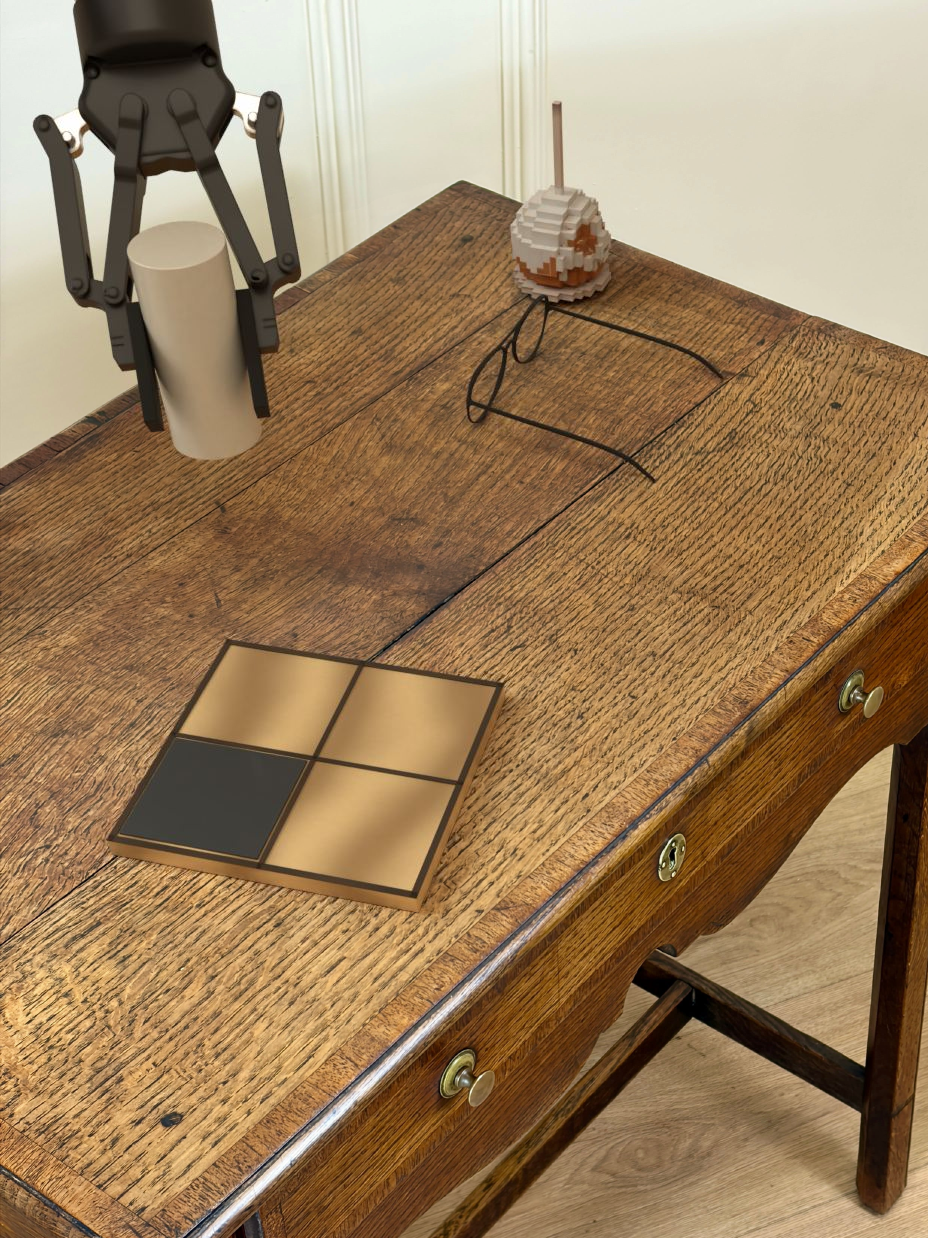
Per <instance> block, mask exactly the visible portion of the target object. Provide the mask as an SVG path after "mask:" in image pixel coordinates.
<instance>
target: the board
mask: <svg viewBox="0 0 928 1238" xmlns="http://www.w3.org/2000/svg"><path fill="white" fill-rule="evenodd" d="M505 686H506V685H505V682H502V681H501V682H500V681H495V680H489V679H482V678H476V677H471V676H463V675H459V674H458V675H457V674H450V673H445V672H438V671H432V670H425V669H419V668H414V667H407V666H401V665H395V664H387V663H382V662H381V663H380V662H376V661H369V660H363V659H358V658H357V659H356V658H351V657H344V656H337V655H331V654H324V653H319V652H313V651H306V650H299V649H294V648H287V647H282V646H275V645H269V644H262V643H256V642H249V641H244V640H243V641H242V640H236V639H230V638H226V640H225V641H224V643H223V644H222V647H220V650H219V651H218V653H217V654H216V656H215V658H214V660H213V661H212V663H211V665H210V666H209V667H208V669H207V671H206V673H205V674H204V676H203V678H202V680H201V681H200V683H199V684H198V686H197V688H196V689H195V691H194V692H193V695H192V696H191V698H190V700H189V701H188V703H187V705H186V706H185V708H184V710H183V711H182V713H181V714H180V716H179V718H178V719H177V722H175V724H174V726H173V728H172V730H171V731H170V732H169V734H168V736H167V737H166V739H165V741H164V743H163V744H162V746H161V748H160V749H159V751H158V753H157V754H156V756H155V758H154V759H153V761H152V763H151V764H150V766H149V767H148V769H147V771H146V773H144V775H143V777H142V779H141V781H140V783H139V784H138V785H137V788H136V789H135V791H134V793H133V794H132V796H131V797H130V799H129V801H128V803H127V804H126V805H125V807H124V809H123V811H122V812H121V814H120V816H119V818H118V819H117V821H116V823H115V824H114V825H113V828H112V829H111V831H110V832H109V834H108V835H107V837H106V839H105V840H106V842H107V845H108V848H109V851H110V853H111V855H113V856H118V857H124V858H127V859H128V858H129V859H134V860H139V861H144V862H149V863H156V864H160V865H164V866H165V865H166V866H170V867H176V868H181V869H187V870H192V871H197V872H203V873H207V874H213V875H218V876H223V877H229V878H235V879H239V880H244V881H250V882H256V883H259V884H266V885H271V886H277V887H281V888H287V889H292V890H298V891H303V892H308V893H313V894H319V895H324V896H327V897H328V896H329V897H334V898H340V899H345V900H350V901H355V902H360V903H364V904H365V903H366V904H369V905H370V904H371V905H375V906H382V907H388V908H390V909H391V908H392V909H397V910H403V911H408V912H414V913H419V912H420V910H421V907H422V905H423V903H424V900H425V898H426V895H427V893H428V890H429V888H430V886H431V883H432V880H433V878H434V875H435V873H436V871H437V868H438V866H439V863H440V860H441V858H442V856H443V854H444V851H445V848H446V846H447V843H448V841H449V838H450V836H451V833H452V831H453V829H454V826H455V823H456V821H457V819H458V816H459V814H460V812H461V809H462V806H463V805H464V801H465V799H466V796H467V794H468V792H469V789H470V786H471V785H472V782H473V779H474V778H475V774H476V772H477V769H478V768H479V765H480V762H481V759H482V757H483V755H484V753H485V750H486V747H487V746H488V742H489V740H490V737H491V735H492V733H493V730H494V727H495V725H496V723H497V721H498V718H499V715H500V713H501V711H502V708H503V705H504V703H505V700H506V689H505V688H506V687H505Z"/></svg>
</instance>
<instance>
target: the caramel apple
mask: <svg viewBox="0 0 928 1238" xmlns="http://www.w3.org/2000/svg"><path fill="white" fill-rule="evenodd" d="M562 107H563V104H562V101H561V100H553V102H552V103H551V111H552V112H551V114H552V116H551V118H552V142H553V143H552V144H553V145H552V147H553V148H552V149H553V150H552V151H553V177H554V178H553V180H554V181H553V182H554V184H551V185H550V186H549V187H548V188H547V189H544V190H543V189H538V190H537V191H536V192H535V194H532V195H531V196H530V198H529V199H528V200H526V201H524V203H523V204H522V205H521V207H519V208H518V210H517V212H516V213H515V216H516V217H515V218H514V220H513V221H512V222H511V224H510V227H509V228H510V245H511V247H510V248H511V252H512V253H511V254H512V259H514V260H516V265H514V267H513V268H512V276H513V284H515V285H517V289H521V293H523V294H529V295H531V299H533V300H535V299H536V298H537V297H538V296H540V295H543V294H544V295H547V296H548V299H549V302H551V303H552V302H553V303H559V301H560V300H563V301H567V302H574V300H575V299H579V300H582V299H584V297H587V298H588V297H589V298H591V297H592V296H593V294H594V293H595V292H596V291H597V292H603V290H604V289H605V288H606V286H607V285H608V283H609V282H610V280H611V279H612V272H611V271H610V263H606V261H607V259H608V258H609V256H610V252H609V251H610V249H611V247H612V233H610V232H609V230H608V229H606V221H604V220H603V217H602V212H601V211H600V210H599V201H598V200H597V198H596V197H591V196H587V195H586V192H584V190H583V188H575V187H570V186H565V180H564V179H565V178H564V176H565V175H564V174H565V173H564V143H563V142H564V140H563V138H564V137H563V108H562ZM541 301H545V299H542V300H541Z"/></svg>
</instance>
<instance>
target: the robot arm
mask: <svg viewBox="0 0 928 1238" xmlns="http://www.w3.org/2000/svg"><path fill="white" fill-rule="evenodd" d="M213 3H214V2H213V1H212V0H74V4H73V6H72V15H73V21H74V28H75V33H76V41H77V47H78V51H79V60H80V67H81V71H82V77H83V78H82V80H83V81H82V82H83V83H82V88H81V93H80V95H79V97H78V101H77V107H75V108H73V109H71V110H69V111H67V112H65V113H62V114H60V115H58V116H56V117H52V116H50V115H48V114H39V115H37V116H36V117H34V119H33V120H32V129H33V131H34V133H35V135H36V137H37V139H38V140H39V142H40V145H41V147H42V148H43V151H44V152H45V154H46V156H47V158H48V162H49V171H50V177H51V178H50V179H51V185H52V193H53V201H54V208H55V214H56V216H55V217H56V221H57V222H56V223H57V229H58V237H59V245H60V252H61V260H62V266H63V275H64V282H65V288H66V290H67V292H68V293H69V294H70V296H71V297H72V299H73V301H74V302H75V303H76V304H77V306H79V307H80V308H83V309H88V308H93V309H97V310H100V311H103V312H104V313H105V316H106V323H107V328H108V335H109V341H110V347H111V355H112V358H113V360H114V361H115V363H116V365H117V367H118V368H119V369H120V372H122V373H123V372H130V371H135V374H136V375H135V376H136V381H137V387H138V394H139V400H140V407H141V411H142V413H141V414H142V420H143V423H144V424H145V426H146V428H147V429H148V430H149V432H150V433H157V432H165V424H164V418H163V411H162V405H161V399H160V393H159V385H158V380H157V375H156V371H155V367H154V363H153V359H152V355H151V350H150V346H149V342H148V338H147V334H146V330H145V326H144V321H143V317H142V313H141V309H140V305H139V301H138V300H137V301H133V293H134V287H135V284H134V280H133V276H132V272H131V268H130V264H129V260H128V255H127V247H128V245H129V243H130V241H131V240H132V239H133V238H134V237H135V236H136V235H138V234H139V233H141V223H142V214H143V205H144V198H145V196H146V193H147V192H146V191H147V183H148V177H156V176H160V175H162V174H164V173H167V172H171V171H172V172H173V171H174V172H180V173H193V172H194V173H195V172H196V174H197V176H198V179H199V180H200V184H201V185H202V187H203V190H204V191H205V194H206V196H207V198H208V201H209V202H210V205H211V207H212V209H213V211H214V214H215V215H216V218H217V221H218V223H219V224H220V227H221V230H222V232H223V234H224V235H225V238H226V241H227V244H228V245H229V246H230V250H231V252H232V254H233V256H234V258H235V261H236V263H237V265H238V267H239V270H240V272H241V274H242V277H243V278H244V281H245V283H246V285H247V288H239V289H235V290H236V300H237V306H238V312H239V318H240V325H241V331H242V337H243V344H244V350H245V356H246V363H247V369H248V375H249V382H250V388H251V394H252V401H253V407H254V411H255V413H256V416H257V419H259V418H260V419H266V418H271V410H270V409H271V408H270V404H269V398H268V391H267V384H266V378H265V372H264V366H263V359H262V355H268V354H270V355H271V354H276V353H277V354H278V353H279V350H280V344H281V341H280V335H279V328H278V322H277V315H276V309H275V301H274V297H275V294H276V293H277V291H278V290H279V289H281V288H282V287H285V286H286V285H289V284H291V285H292V284H296V283H297V282H299V281H300V279H301V277H302V268H301V267H302V266H301V261H300V254H299V249H298V243H297V240H296V239H297V237H296V233H295V228H294V223H293V222H294V221H293V216H292V211H291V206H290V200H289V195H288V189H287V184H286V178H285V173H284V167H283V161H282V156H281V155H282V154H281V150H280V148H281V143H282V137H283V132H284V125H285V113H284V107H283V99H282V97H281V96H280V94H279V93H278V92H276V91H274V90H267V91H265V92H263V93H262V94H261V95H257V94H256V95H255V94H251V93H245V92H242V91H237V90H236V89H235V86H234V84H233V82H232V81H231V80H230V79H229V77H228V76H227V74H226V72H225V71H224V68H223V61H222V55H221V54H222V53H221V49H220V41H219V36H218V29H217V23H216V16H215V10H214V4H213ZM234 116H236V117H238V118H239V119H240V120H241V121H242V124H243V129H244V132H245V134H246V136H247V137H248V138H249V139H250V138H251V139H253V140H255V147H256V153H257V157H258V163H259V168H260V175H261V179H262V185H263V190H264V196H265V201H266V202H265V203H266V207H267V212H268V217H269V224H270V228H271V234H272V240H273V245H274V251H275V257H273V258H271V259H268V260H266V261H265V262H264V261H263V258H262V255H261V254H260V251H259V249H258V247H257V245H256V242H255V240H254V238H253V236H252V233H251V231H250V229H249V226H248V225H247V222H246V220H245V217H244V215H243V213H242V211H241V208H240V206H239V203H238V202H237V199H236V197H235V195H234V193H233V191H232V188H231V186H230V184H229V182H228V179H227V177H226V175H225V173H224V170H223V168H222V165H221V163H220V160H219V158H218V155H217V153H216V150H217V148H218V146H219V144H220V142H221V140H222V139H223V136H224V135H225V133H226V132H227V130H228V127H229V125H230V123H231V121H232V119H233V117H234ZM88 132H91V133H92V134H93V135H94V137H96V138H97V140H99V142H101V144H102V145H103V146H104V147H106V149H107V150H108V151H109V152H110V153H111V154H112V155H113V156H114V161H113V163H114V164H113V187H112V197H111V198H112V199H111V205H110V213H109V223H108V230H107V231H108V232H107V241H106V249H105V251H106V252H105V258H104V266H103V274H102V275H103V276H102V280H99V279H95V274H94V267H93V260H92V253H91V246H90V245H91V244H90V238H89V231H88V223H87V214H86V207H85V201H84V194H83V193H84V192H83V186H82V185H83V184H82V180H81V174H80V170H79V167H78V164H77V162H76V160H75V159H78V158H79V157H81V156H82V155H83V153H84V150H85V149H84V148H85V146H84V142H83V141H84V140H83V138H84V136H85V134H86V133H88Z"/></svg>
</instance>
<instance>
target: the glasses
mask: <svg viewBox="0 0 928 1238" xmlns="http://www.w3.org/2000/svg"><path fill="white" fill-rule="evenodd" d="M542 299H545V300H544V313H543V322H542V326H541V327H542V328H541V332H540V335H539V338H538V340H537V343H536V345H535V346H534V349H533V351H532V352H531V354H530V355H529V356H528V357H527V359H525V360H522V361H520V359H519V356H518V353H517V342H518V338H519V335H520V332H521V329H522V328H523V325H524V323H525V322H526V320H527V319H528V317H529V316H530V314H531V312H532V311H533V310H534V309H535V307H536V306H537V305H539V303H541V301H543V300H542ZM552 311H554V312H557V313H560V314H563V315H565V316H569V317H572V318H576V319H579V320H582V321H585V322H589V323H592V324H595V325H598V326H601V327H606V328H608V329H611V330H615V331H619V332H621V333H624V334H628V335H631V336H634V337H637V338H641V339H643V340H647V341H650V342H653V343H655V344H659V345H662V346H665V347H667V348H671V349H673V350H676V351H678V352H681V353H683V354H685V355H687V356H690V357H691V358H693V359H695V360H696V361H698V362H700V363H701V364H702V365H704V366H705V367H706V368H707V369H708V370H710V371H711V372H712V373H713V374H714V375H715V376H717V378H719V379H720V380H723V379H724V376H723V374H722V373H720V372H719V371H718V370H717V369H716V368H715V366H713V365H712V364H711V363H710V362H709V361H708V360H707V359H705V358H704V357H703V356H702V355H700V354H698V353H696V352H694V351H692V350H690V349H688V348H685V347H683V346H682V345H679V344H676V343H673V342H670V341H668V340H665V339H662V338H659V337H656V336H653V335H650V334H646V333H643V332H640V331H637V330H633V329H630V328H626V327H624V326H622V325H621V326H620V325H618V324H614V323H611V322H608V321H603V320H600V319H597V318H594V317H590V316H587V315H584V314H580V313H577V312H574V311H570V310H567V309H564V308H560V307H556V306H553V305H551V304H550V301H549V299H548V296H547V295H544V294H543V295H540V296H538V297H537V298H536V299H533V301H532V302H531V304H530V305H529V306H528V307H527V309H526V310H525V311H524V312H523V314H522V316H520V319H519V320H518V321H517V323H516V324H515V325H514V327H512V329H511V330H510V331H509V332H508V334H507V335H506V336H505V337H504V338H503V339H502V340H501V342H499V344H497V346H496V347H495V348H493V349H492V350H491V351H490V352H489V353H488V354H487V355H486V356H485V357H484V359H482V361H481V362H480V363H479V364H478V366H476V368H475V370H474V371H473V373H472V375H471V377H470V380H469V384H468V387H467V393H466V401H465V402H466V403H465V407H466V416H467V420H468V421H469V422H470V423H471V424H478V423H480V422H481V421H483V420H484V419H485V417H486V416H487V415H488V413H489V412H490V413H492V414H496V415H499V416H502V417H504V418H507V419H510V420H514V421H517V422H519V423H523V424H525V425H528V426H532V427H535V428H537V429H541V430H545V431H548V432H550V433H553V434H556V435H560V436H563V437H565V438H568V439H571V440H574V441H577V442H579V443H583V444H586V445H589V446H592V447H594V448H597V449H599V450H602V451H604V452H607V453H609V454H611V455H614V456H616V457H618V458H619V459H622V460H624V461H626V462H627V463H629V464H630V465H631V466H633V467H634V468H635V469H636V470H637V471H639V472H640V473H642V475H644V476H645V477H646V478H647V479H649V480H650V481H651V482H652V483H655V482H657V481H656V478H654V476H652V474H650V473H649V472H648V471H647V470H646V469H645V468H644V467H643V466H641V464H639V463H638V462H637V460H635V459H633V458H632V457H630V456H629V455H627V454H625V453H623V452H622V451H619V450H617V449H615V448H612V447H611V446H608V445H606V444H603V443H600V442H598V441H595V440H593V439H589V438H587V437H584V436H581V435H578V434H575V433H571V432H570V431H567V430H563V429H560V428H557V427H555V426H551V425H547V424H544V423H542V422H538V421H535V420H532V419H529V418H526V417H524V416H520V415H518V414H517V415H516V414H514V413H510V412H507V411H505V410H501V409H498V408H496V407H492V405H493V403H494V401H495V399H496V397H497V395H498V393H499V391H500V389H501V387H502V383H503V380H504V378H505V372H506V368H507V367H506V366H507V362H508V360H507V359H508V353H509V347H510V346H511V354H512V358H513V360H514V362H516V363H517V364H520V365H526V364H528V363H530V362H531V361H532V360H533V358H535V356H536V354H537V352H538V350H539V348H540V345H541V343H542V340H543V337H544V334H545V329H546V325H547V324H546V323H547V319H548V314H549V312H552ZM511 336H512V338H511V339H510V337H511ZM508 339H509V340H508ZM507 340H508V341H507ZM505 343H506V344H505ZM504 344H505V347H504V346H503V345H504ZM500 351H502V356H501V364H500V368H499V372H498V374H497V375H498V376H497V379H496V382H495V386H494V388H493V391H492V394H491V396H490V398H489V401H488V403H487V404H483V403H481V402H477V401H475V400H473V399H472V395H473V390H474V388H475V384H476V382H477V380H478V378H479V376H480V375H481V373H482V372H483V370H484V369H485V367H486V365H487V364H488V363H489V362H490V360H491V359H492V358H493V357H494V356H495V355H496V354H497V353H498V352H500ZM471 406H473V407H476V408H479V409H482V410H483V412H482V413H481V415H480V416H479V417H478V418H477V419H476V420H472V418H471V415H470V413H471V412H470V410H471V409H470V407H471Z"/></svg>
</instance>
